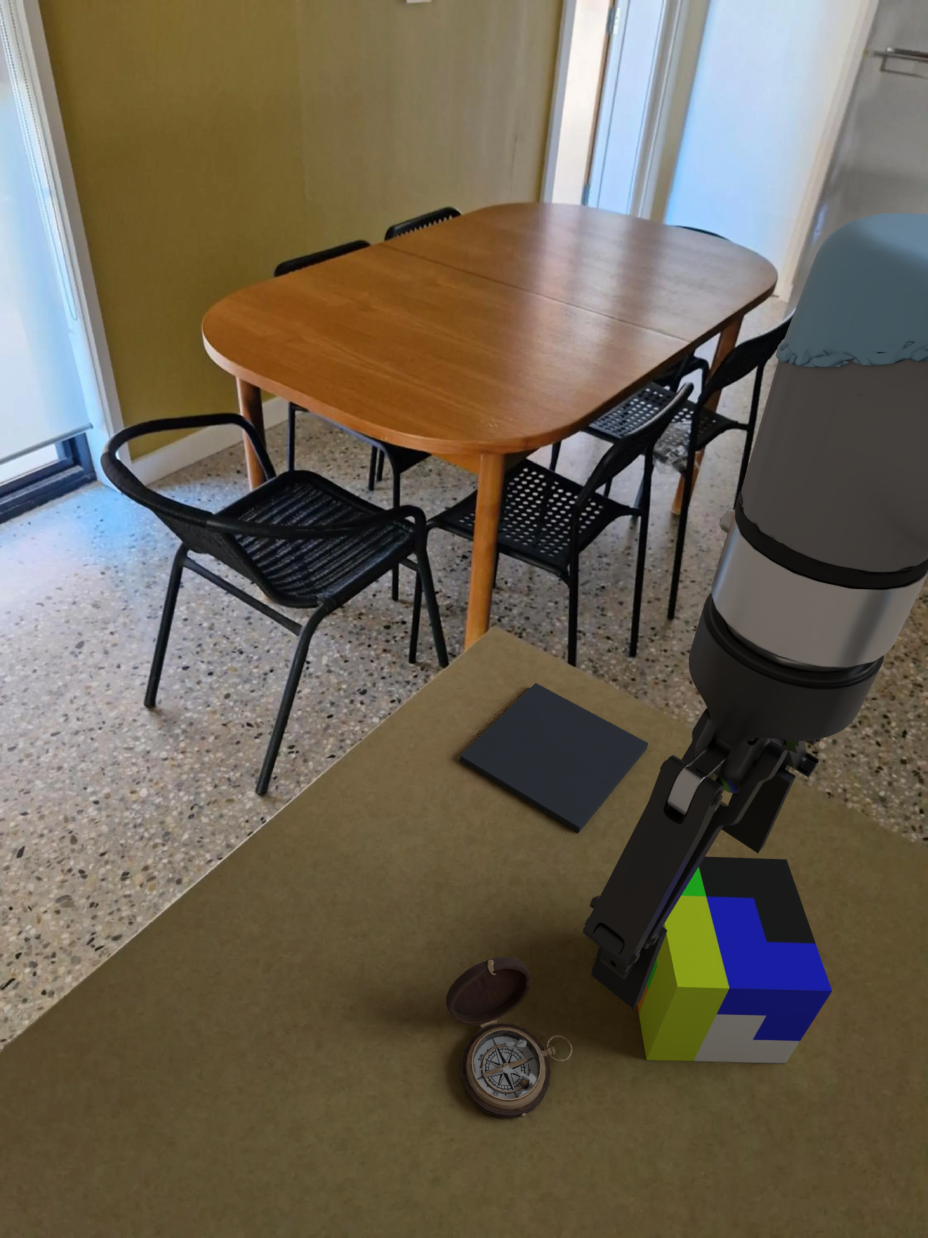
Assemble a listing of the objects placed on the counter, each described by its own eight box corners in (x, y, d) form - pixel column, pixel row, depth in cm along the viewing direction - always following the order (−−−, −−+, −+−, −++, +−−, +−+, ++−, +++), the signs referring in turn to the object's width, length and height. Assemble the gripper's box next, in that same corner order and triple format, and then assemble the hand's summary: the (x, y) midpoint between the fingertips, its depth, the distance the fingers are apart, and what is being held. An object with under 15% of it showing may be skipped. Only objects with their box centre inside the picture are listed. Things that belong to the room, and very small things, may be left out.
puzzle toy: (785, 1063, 63) (832, 991, 57) (646, 1060, 62) (677, 987, 56) (749, 935, 71) (786, 859, 64) (625, 931, 70) (650, 854, 64)
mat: (647, 748, 86) (648, 742, 85) (578, 833, 77) (579, 827, 77) (534, 688, 91) (535, 682, 91) (459, 761, 83) (459, 755, 82)
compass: (480, 1136, 58) (489, 1086, 53) (440, 1022, 63) (445, 968, 59) (589, 1095, 60) (607, 1044, 56) (541, 989, 66) (554, 935, 61)
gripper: (836, 482, 47) (732, 756, 60) (543, 719, 32) (491, 1014, 45) (982, 542, 43) (836, 820, 56) (729, 842, 28) (612, 1124, 41)
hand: (683, 906), depth 51 cm, fingers open, 13 cm apart
